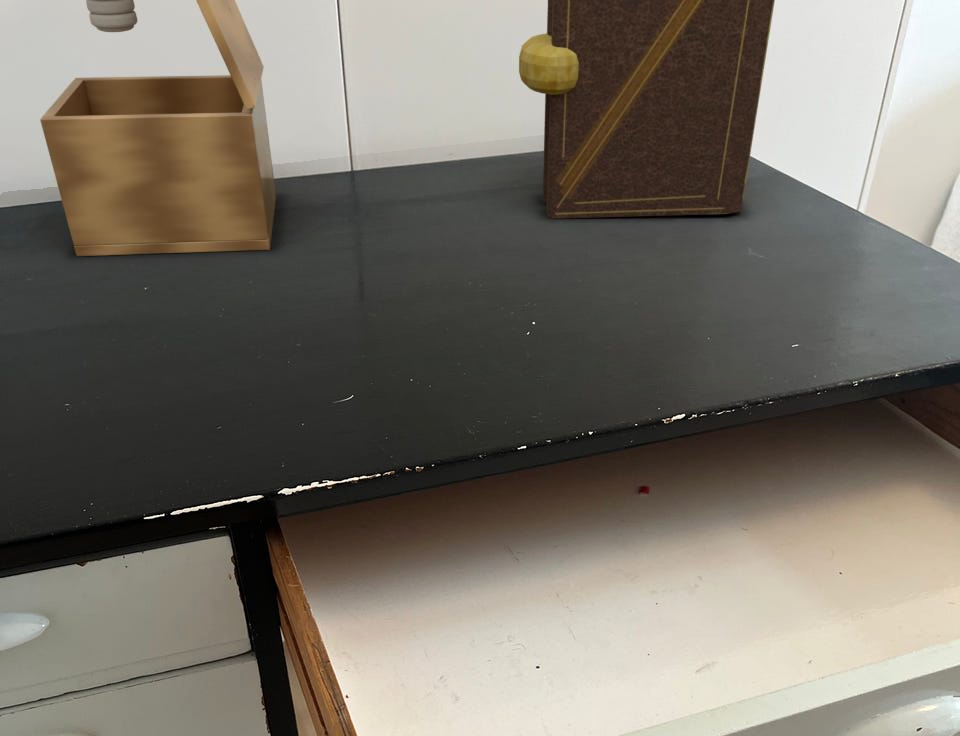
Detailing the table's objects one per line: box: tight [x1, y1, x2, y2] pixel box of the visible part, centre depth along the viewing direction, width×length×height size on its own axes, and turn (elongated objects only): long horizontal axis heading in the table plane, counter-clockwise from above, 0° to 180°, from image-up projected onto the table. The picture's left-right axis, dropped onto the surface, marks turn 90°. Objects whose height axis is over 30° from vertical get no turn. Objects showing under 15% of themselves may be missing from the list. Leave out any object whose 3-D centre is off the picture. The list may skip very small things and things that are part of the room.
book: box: [518, 0, 776, 220], centre depth 87 cm, size 22×8×25 cm, turn 92°
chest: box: [40, 74, 277, 257], centre depth 87 cm, size 17×15×11 cm
